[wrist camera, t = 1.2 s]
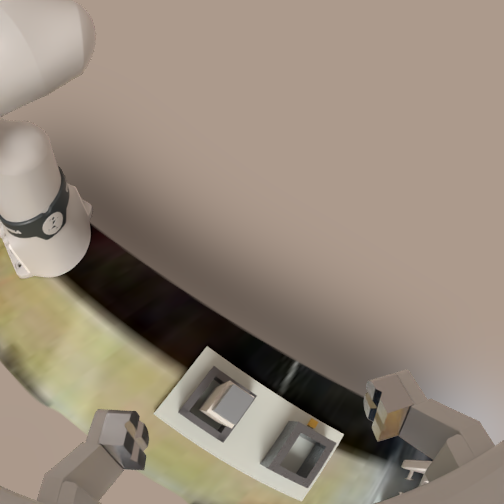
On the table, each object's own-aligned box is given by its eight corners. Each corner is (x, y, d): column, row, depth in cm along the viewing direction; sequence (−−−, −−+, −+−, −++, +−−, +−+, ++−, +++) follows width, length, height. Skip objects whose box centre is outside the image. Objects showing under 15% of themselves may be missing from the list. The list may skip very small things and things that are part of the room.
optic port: (259, 463, 36) (267, 468, 33) (288, 420, 40) (298, 421, 37) (297, 483, 35) (307, 488, 32) (324, 441, 40) (336, 442, 36)
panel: (153, 413, 37) (150, 414, 33) (206, 347, 44) (209, 340, 40) (299, 499, 35) (312, 507, 30) (340, 434, 41) (357, 435, 37)
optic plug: (198, 409, 38) (208, 412, 25) (214, 387, 41) (233, 378, 27) (215, 421, 38) (235, 429, 24) (231, 399, 40) (259, 396, 27)
